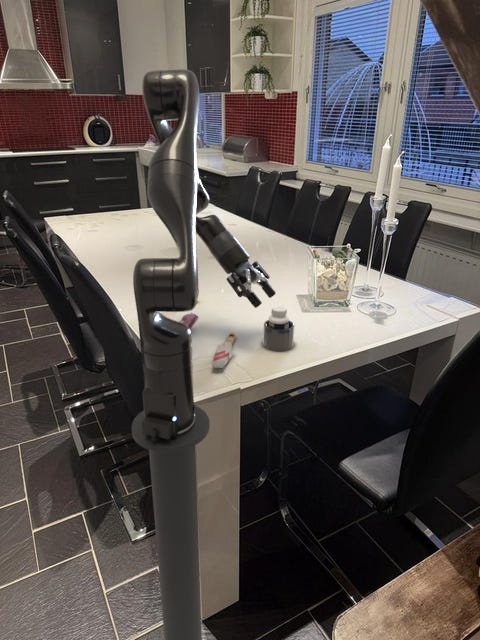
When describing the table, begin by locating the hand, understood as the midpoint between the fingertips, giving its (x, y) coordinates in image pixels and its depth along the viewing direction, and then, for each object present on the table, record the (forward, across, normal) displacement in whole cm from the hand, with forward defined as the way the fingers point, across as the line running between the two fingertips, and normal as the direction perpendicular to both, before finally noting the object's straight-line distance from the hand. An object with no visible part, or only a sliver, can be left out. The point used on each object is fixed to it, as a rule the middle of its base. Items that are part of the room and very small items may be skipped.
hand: (266, 300), depth 121 cm
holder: (+11, +2, +7) cm, 13 cm away
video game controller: (-7, -5, +25) cm, 27 cm away
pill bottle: (+11, +2, +6) cm, 13 cm away
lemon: (-16, +16, +34) cm, 41 cm away
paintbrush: (+5, -10, +14) cm, 18 cm away
